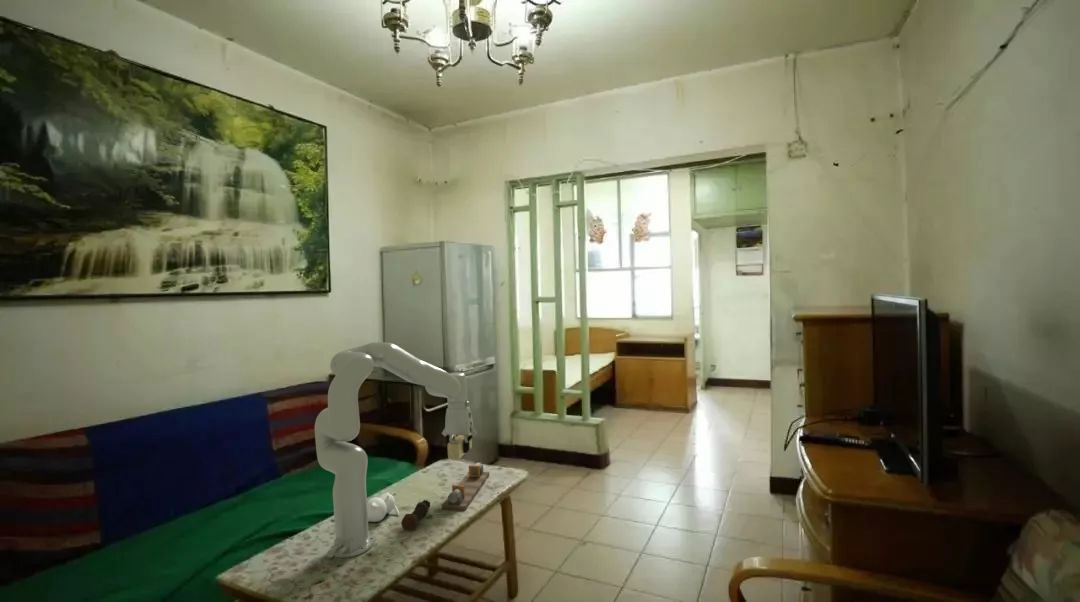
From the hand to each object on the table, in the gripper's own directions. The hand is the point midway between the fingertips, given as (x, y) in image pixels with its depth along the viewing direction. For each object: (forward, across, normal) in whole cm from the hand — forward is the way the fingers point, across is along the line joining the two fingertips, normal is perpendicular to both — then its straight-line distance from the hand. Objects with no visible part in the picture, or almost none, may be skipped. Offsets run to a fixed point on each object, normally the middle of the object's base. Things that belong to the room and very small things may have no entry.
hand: (460, 451), depth 174 cm
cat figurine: (+16, +20, +23) cm, 35 cm away
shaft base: (+16, -2, 0) cm, 16 cm away
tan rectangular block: (+1, 0, 0) cm, 1 cm away
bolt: (+16, +7, +22) cm, 28 cm away
